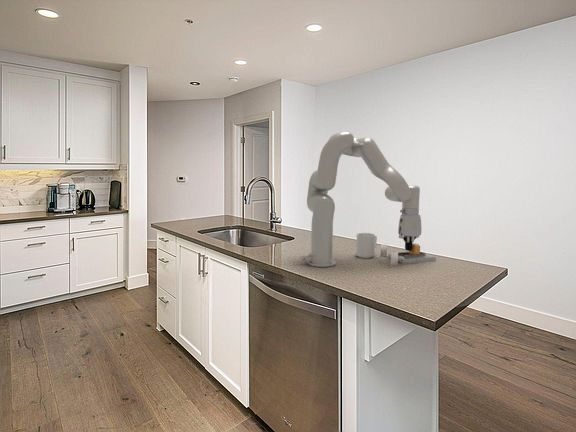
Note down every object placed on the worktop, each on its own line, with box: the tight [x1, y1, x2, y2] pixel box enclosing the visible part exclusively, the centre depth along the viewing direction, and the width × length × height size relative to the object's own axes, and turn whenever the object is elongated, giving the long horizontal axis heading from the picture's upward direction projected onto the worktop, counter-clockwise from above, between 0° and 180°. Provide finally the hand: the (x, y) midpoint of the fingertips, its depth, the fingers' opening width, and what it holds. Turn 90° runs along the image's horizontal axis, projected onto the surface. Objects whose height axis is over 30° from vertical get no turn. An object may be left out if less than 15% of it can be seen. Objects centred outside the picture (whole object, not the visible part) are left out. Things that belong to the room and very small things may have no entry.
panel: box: [387, 251, 437, 265], centre depth 175 cm, size 18×12×3 cm, turn 108°
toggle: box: [408, 242, 421, 255], centre depth 175 cm, size 3×4×5 cm
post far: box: [380, 243, 388, 258], centre depth 182 cm, size 3×3×6 cm
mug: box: [355, 232, 378, 259], centre depth 181 cm, size 12×9×11 cm
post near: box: [390, 251, 399, 268], centre depth 163 cm, size 3×3×6 cm
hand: (408, 250), depth 174 cm, fingers closed
